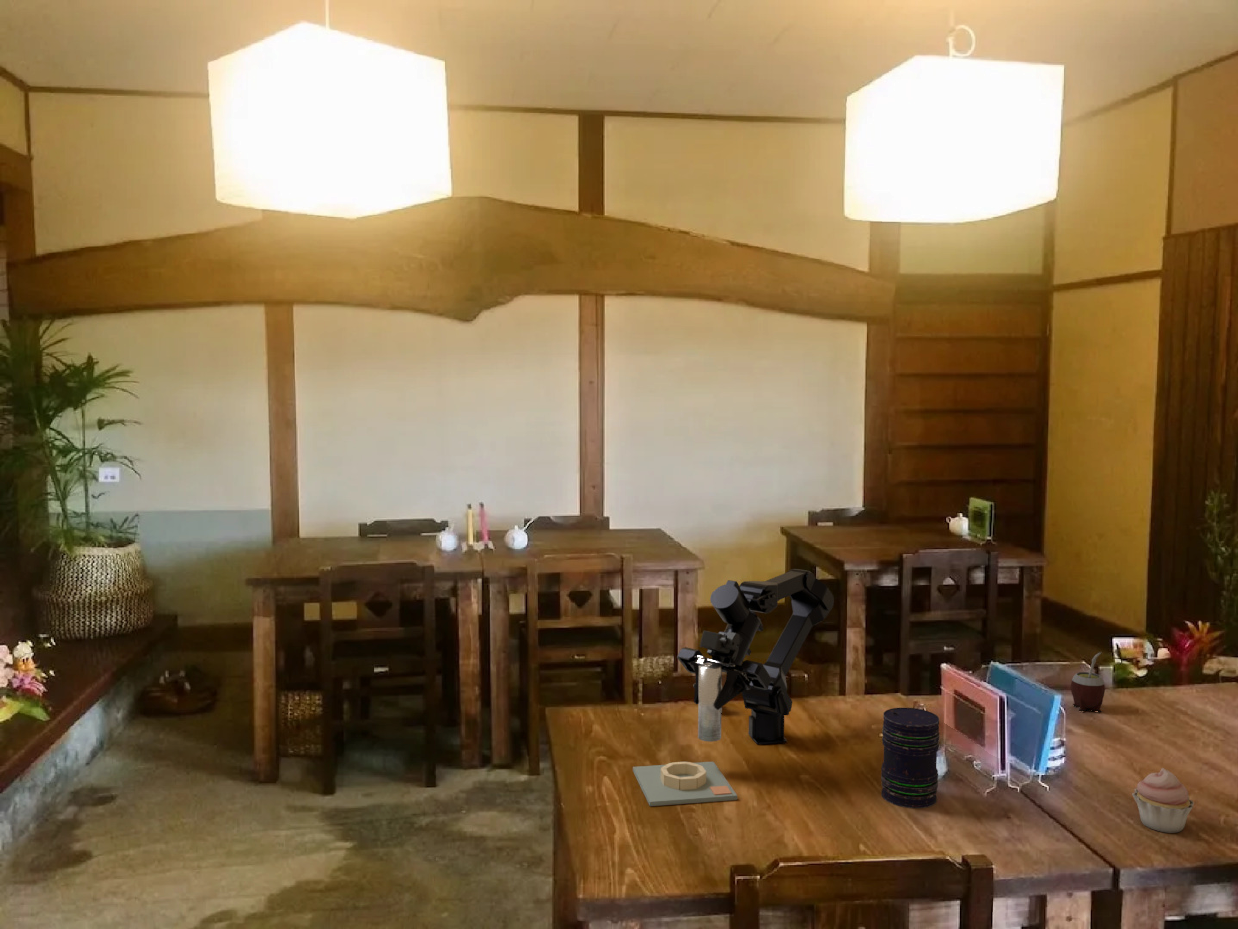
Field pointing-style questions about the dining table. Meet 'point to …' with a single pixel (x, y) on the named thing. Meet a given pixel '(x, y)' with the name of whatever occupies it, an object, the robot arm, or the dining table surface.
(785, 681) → the robot arm
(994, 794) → the dining table surface
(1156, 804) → the cupcake
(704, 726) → the silver metal cylinder
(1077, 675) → the mate gourd
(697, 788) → the socket board
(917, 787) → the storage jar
